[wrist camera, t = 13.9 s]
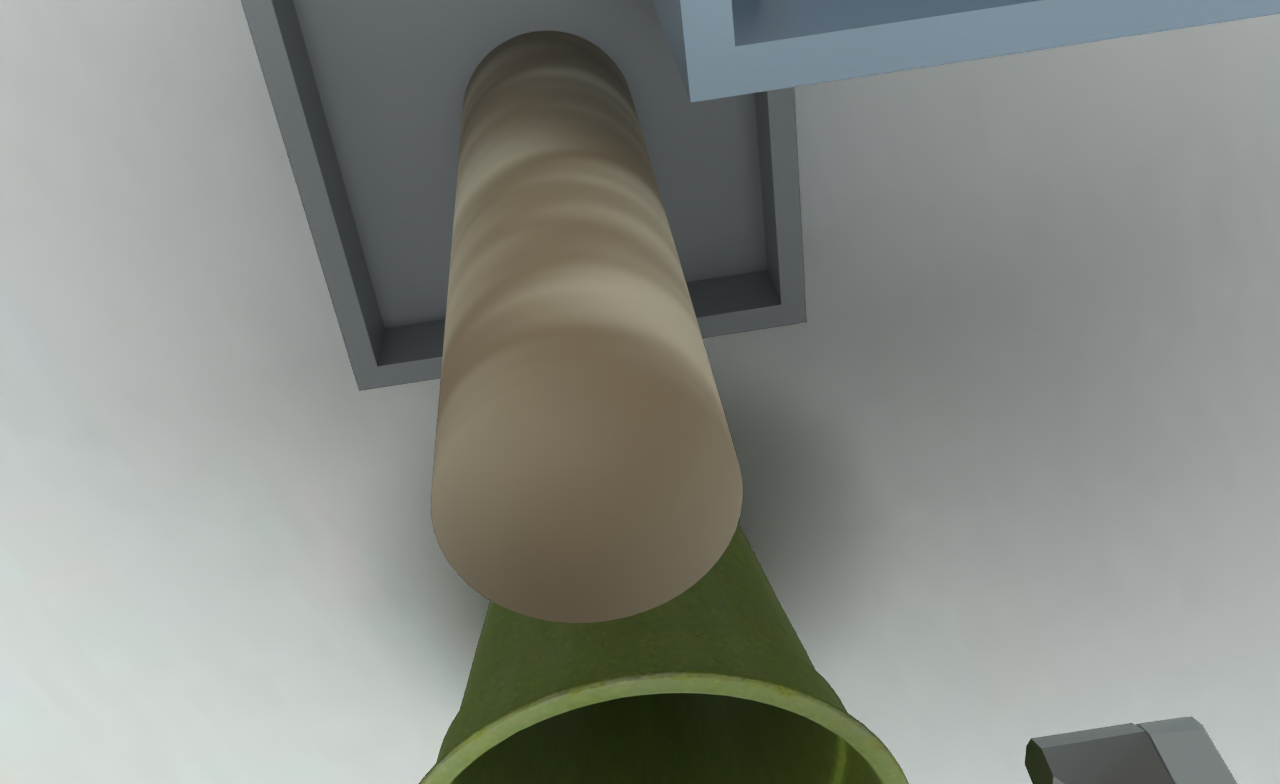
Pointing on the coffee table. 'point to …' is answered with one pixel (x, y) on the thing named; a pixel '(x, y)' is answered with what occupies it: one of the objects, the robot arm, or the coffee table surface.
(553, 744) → the plant pot
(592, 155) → the dowel
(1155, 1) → the blue storage bin
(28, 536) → the coffee table surface
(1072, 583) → the coffee table surface
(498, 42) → the tray
